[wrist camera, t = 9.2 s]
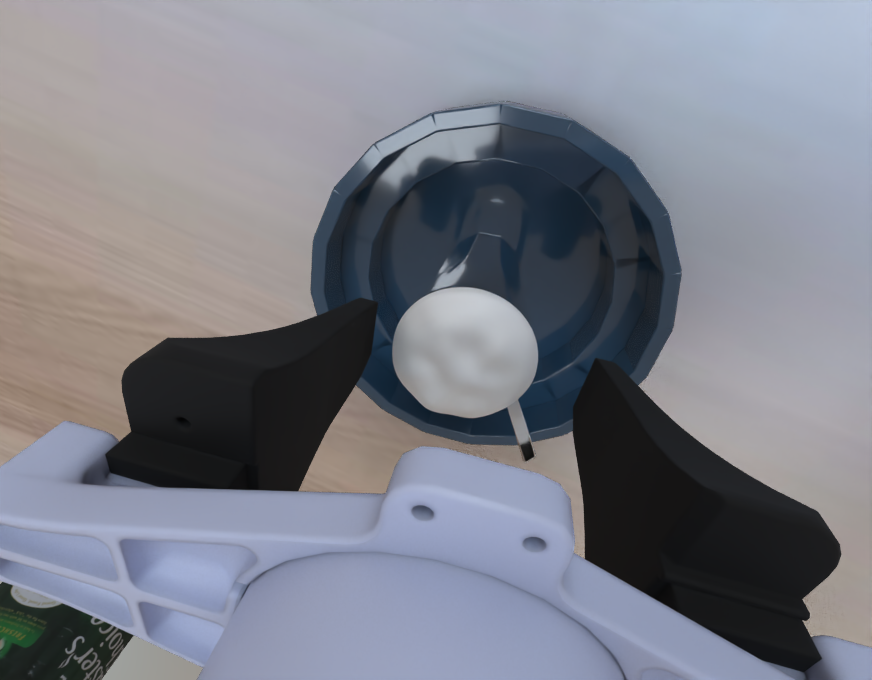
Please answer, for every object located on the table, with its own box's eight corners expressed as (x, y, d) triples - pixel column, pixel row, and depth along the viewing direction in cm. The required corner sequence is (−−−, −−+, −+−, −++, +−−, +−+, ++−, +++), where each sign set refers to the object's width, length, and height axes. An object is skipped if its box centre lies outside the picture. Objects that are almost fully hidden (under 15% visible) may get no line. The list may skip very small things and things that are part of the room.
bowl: (711, 146, 17) (765, 162, 13) (581, 417, 25) (592, 477, 21) (363, 67, 18) (320, 61, 14) (338, 353, 25) (304, 401, 21)
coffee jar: (206, 557, 39) (-15, 886, 23) (121, 531, 39) (-157, 838, 23) (201, 485, 34) (-88, 841, 18) (104, 455, 34) (-268, 780, 18)
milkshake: (492, 339, 22) (474, 493, 14) (416, 265, 21) (343, 385, 13) (565, 282, 20) (596, 422, 12) (485, 197, 19) (454, 284, 10)
